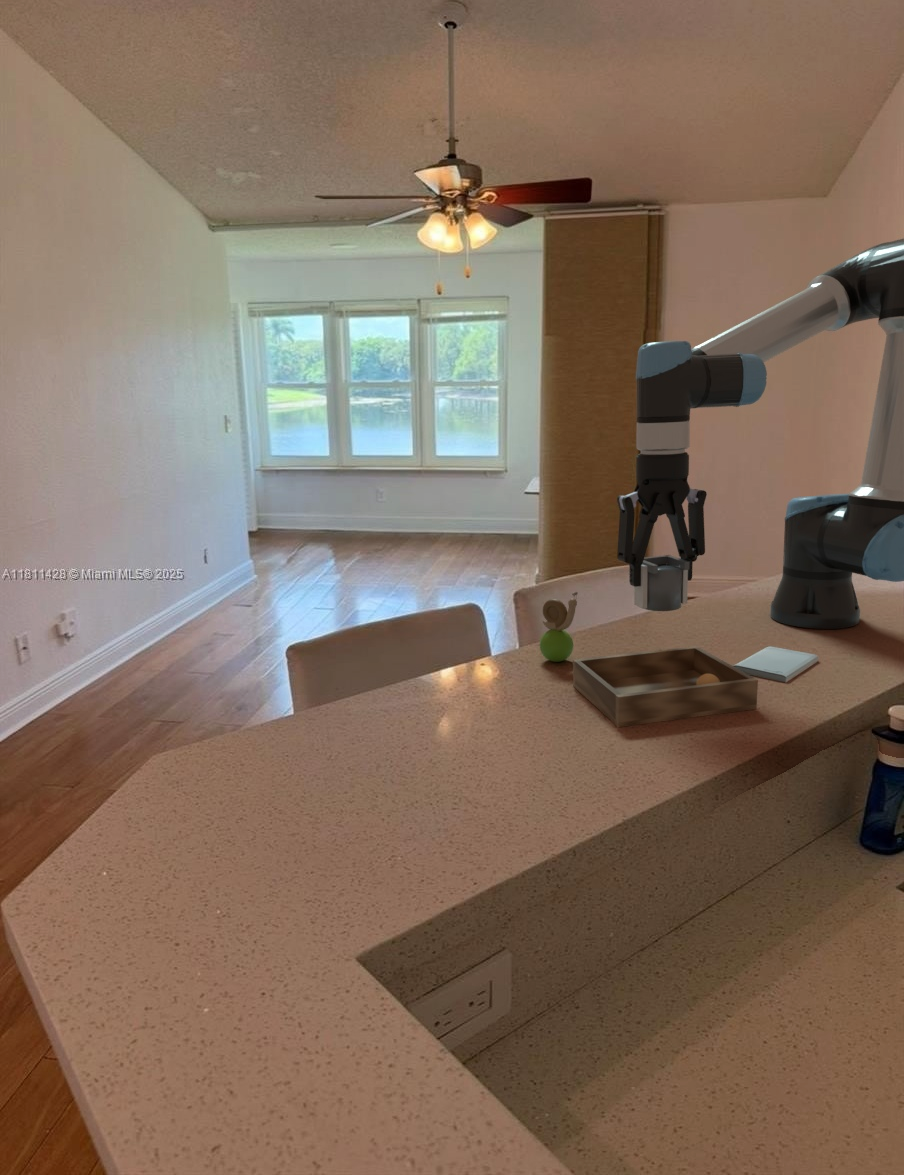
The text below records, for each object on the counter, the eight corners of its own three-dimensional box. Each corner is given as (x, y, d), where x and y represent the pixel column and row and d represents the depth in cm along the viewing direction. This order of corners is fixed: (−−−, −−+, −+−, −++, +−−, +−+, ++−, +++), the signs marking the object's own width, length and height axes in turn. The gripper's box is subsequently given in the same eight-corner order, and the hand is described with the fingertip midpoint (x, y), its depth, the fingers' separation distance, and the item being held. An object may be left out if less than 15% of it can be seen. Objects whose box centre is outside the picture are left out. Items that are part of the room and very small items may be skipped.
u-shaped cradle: (668, 599, 125) (669, 554, 124) (688, 608, 120) (689, 561, 118) (633, 603, 124) (633, 558, 122) (652, 613, 118) (652, 565, 116)
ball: (710, 681, 113) (720, 669, 110) (717, 701, 111) (727, 689, 108) (689, 680, 112) (699, 669, 109) (696, 700, 110) (706, 689, 108)
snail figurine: (568, 669, 125) (568, 595, 123) (533, 662, 129) (532, 591, 126) (584, 660, 130) (584, 588, 127) (550, 653, 133) (549, 584, 131)
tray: (695, 671, 122) (696, 646, 121) (756, 708, 107) (757, 680, 106) (573, 686, 118) (573, 659, 117) (618, 726, 103) (618, 697, 102)
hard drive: (786, 675, 116) (818, 654, 124) (732, 664, 122) (767, 644, 130) (785, 686, 116) (817, 664, 125) (732, 674, 122) (766, 654, 130)
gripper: (706, 446, 122) (702, 592, 127) (591, 454, 118) (593, 605, 123) (734, 448, 115) (729, 603, 120) (614, 457, 111) (614, 616, 116)
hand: (660, 603), depth 122 cm, fingers closed on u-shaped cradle, 6 cm apart
